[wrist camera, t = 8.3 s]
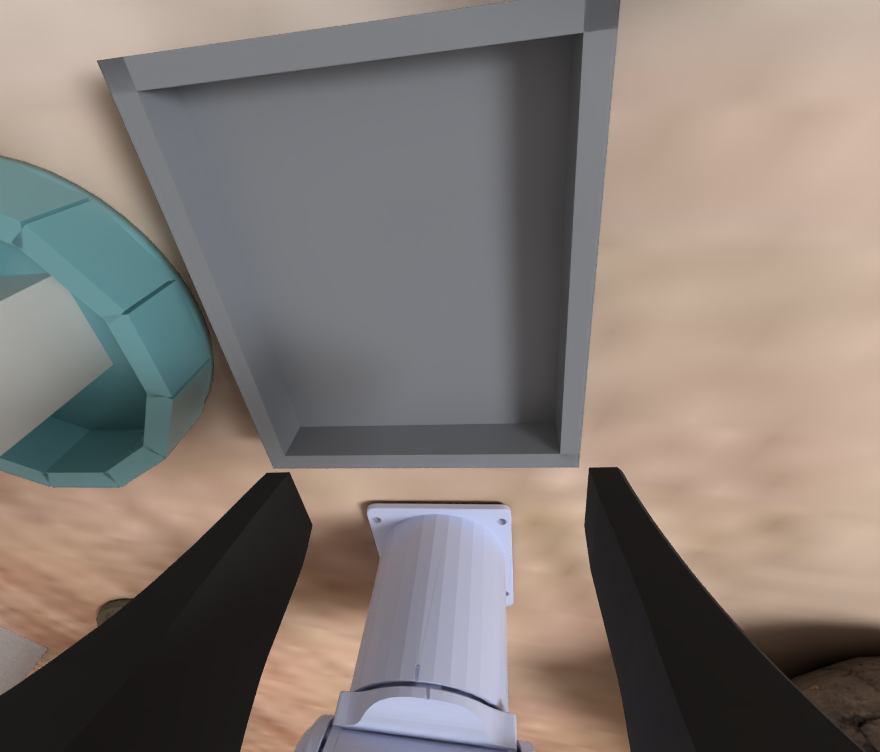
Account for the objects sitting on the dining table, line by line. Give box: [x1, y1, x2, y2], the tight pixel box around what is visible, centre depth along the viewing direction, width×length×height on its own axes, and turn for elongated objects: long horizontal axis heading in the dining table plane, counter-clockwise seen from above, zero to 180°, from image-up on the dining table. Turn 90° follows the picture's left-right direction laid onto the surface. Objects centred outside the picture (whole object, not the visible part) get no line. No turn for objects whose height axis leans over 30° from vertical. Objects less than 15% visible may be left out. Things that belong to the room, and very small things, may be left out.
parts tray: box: [97, 0, 620, 468], centre depth 17 cm, size 16×14×2 cm
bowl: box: [0, 156, 214, 488], centre depth 20 cm, size 14×14×4 cm
